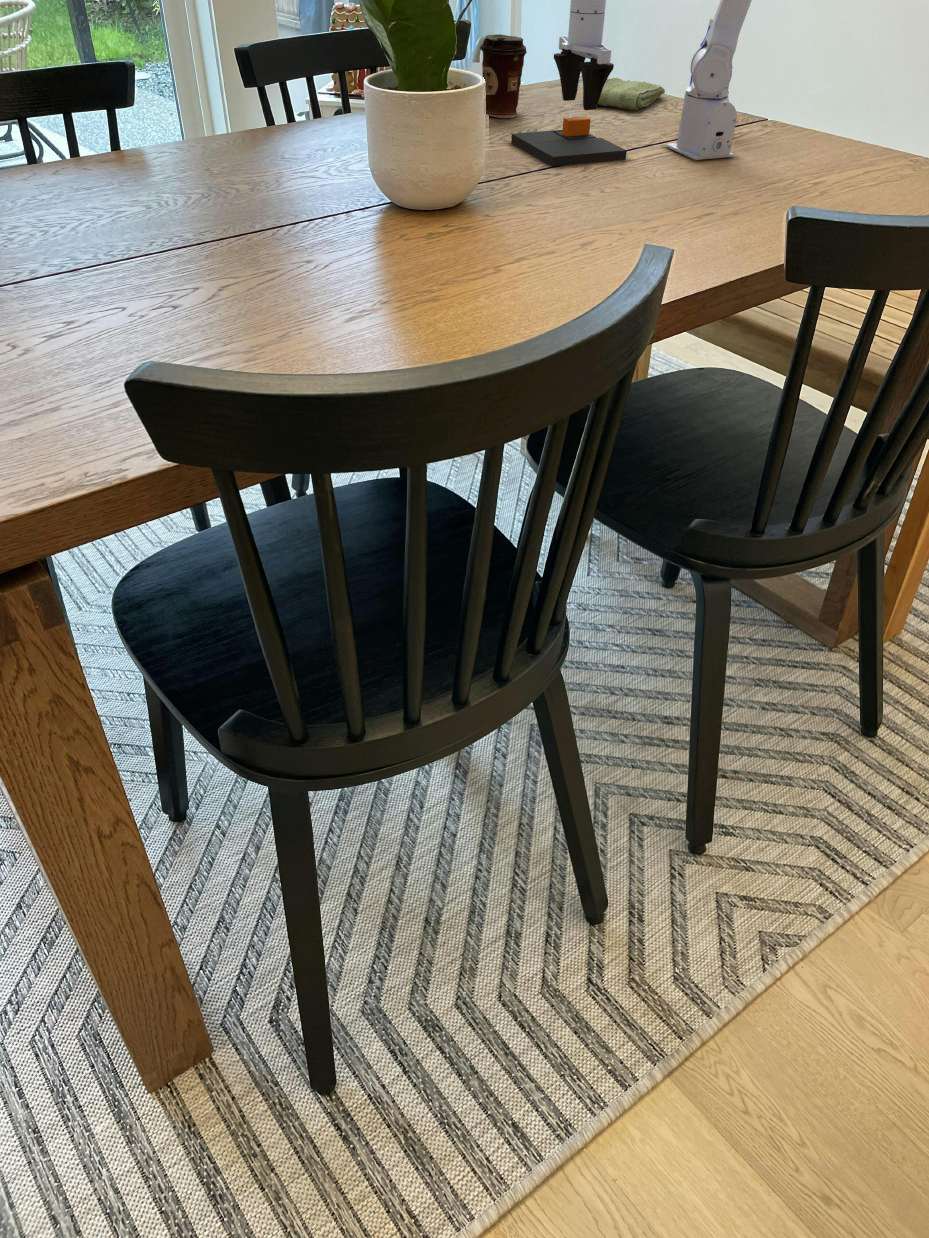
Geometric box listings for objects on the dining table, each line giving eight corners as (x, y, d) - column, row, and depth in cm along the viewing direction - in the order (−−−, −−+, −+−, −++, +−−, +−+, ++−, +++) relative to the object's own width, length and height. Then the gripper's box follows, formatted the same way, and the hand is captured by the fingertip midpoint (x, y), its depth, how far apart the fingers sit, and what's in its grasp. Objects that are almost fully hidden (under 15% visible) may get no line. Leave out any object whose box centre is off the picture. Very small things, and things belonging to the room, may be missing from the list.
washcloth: (666, 97, 195) (669, 80, 193) (638, 113, 183) (641, 95, 181) (608, 90, 199) (610, 73, 197) (577, 105, 187) (579, 87, 185)
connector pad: (595, 146, 162) (598, 121, 160) (568, 148, 161) (570, 123, 158) (580, 139, 166) (583, 114, 164) (554, 141, 164) (556, 116, 162)
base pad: (625, 160, 156) (627, 150, 155) (552, 166, 152) (553, 157, 151) (580, 137, 167) (581, 128, 166) (511, 143, 163) (511, 133, 162)
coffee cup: (484, 121, 175) (487, 41, 166) (472, 111, 181) (474, 33, 172) (528, 119, 177) (532, 40, 168) (514, 109, 183) (518, 32, 174)
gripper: (545, 6, 154) (539, 97, 163) (587, 19, 144) (578, 115, 153) (582, 5, 157) (575, 95, 165) (626, 17, 146) (615, 112, 155)
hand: (579, 105), depth 159 cm, fingers open, 7 cm apart
